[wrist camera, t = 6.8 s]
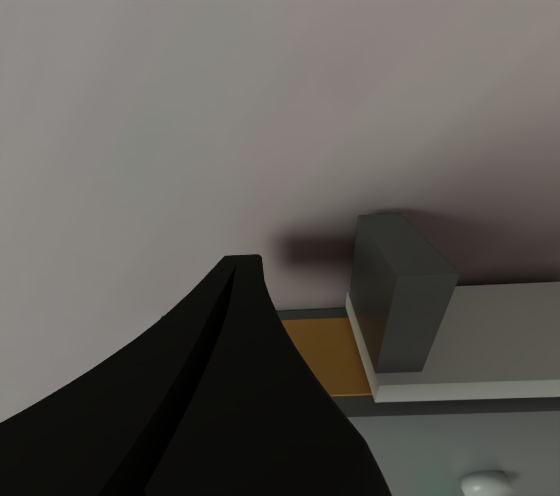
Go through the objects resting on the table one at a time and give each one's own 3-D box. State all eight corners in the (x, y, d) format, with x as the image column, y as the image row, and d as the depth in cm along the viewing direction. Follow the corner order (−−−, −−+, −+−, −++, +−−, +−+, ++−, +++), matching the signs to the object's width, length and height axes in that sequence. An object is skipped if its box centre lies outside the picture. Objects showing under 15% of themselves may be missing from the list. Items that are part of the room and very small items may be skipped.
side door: (345, 306, 12) (374, 402, 8) (355, 211, 10) (404, 287, 6) (559, 297, 12) (689, 392, 8) (630, 195, 9) (870, 266, 5)
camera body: (209, 426, 19) (186, 536, 15) (161, 315, 13) (92, 443, 8) (503, 418, 19) (579, 530, 14) (603, 295, 12) (807, 423, 8)
